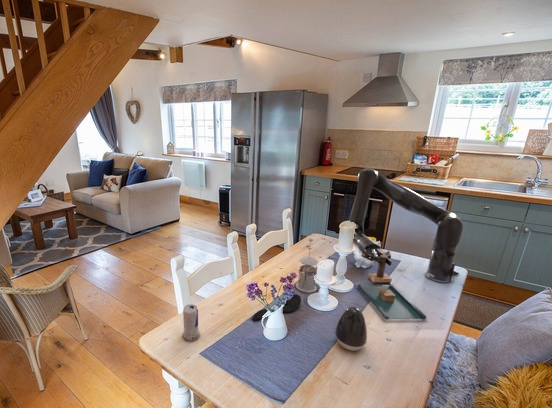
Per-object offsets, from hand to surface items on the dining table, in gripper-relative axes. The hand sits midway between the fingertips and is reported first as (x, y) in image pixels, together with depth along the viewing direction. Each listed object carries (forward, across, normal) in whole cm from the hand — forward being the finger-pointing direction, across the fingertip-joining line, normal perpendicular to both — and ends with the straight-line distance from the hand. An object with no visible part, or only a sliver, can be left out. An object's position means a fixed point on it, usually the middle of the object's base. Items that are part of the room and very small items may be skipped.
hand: (386, 263), depth 134 cm
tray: (+6, 0, +16) cm, 17 cm away
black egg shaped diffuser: (+31, -28, +16) cm, 44 cm away
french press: (-7, -32, +17) cm, 37 cm away
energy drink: (+26, -84, +17) cm, 90 cm away
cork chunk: (+4, 0, +15) cm, 16 cm away
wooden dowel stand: (-3, 0, +11) cm, 12 cm away
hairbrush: (+11, -49, +17) cm, 53 cm away
